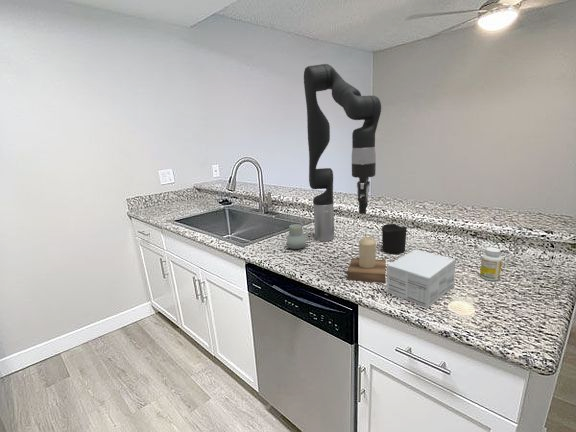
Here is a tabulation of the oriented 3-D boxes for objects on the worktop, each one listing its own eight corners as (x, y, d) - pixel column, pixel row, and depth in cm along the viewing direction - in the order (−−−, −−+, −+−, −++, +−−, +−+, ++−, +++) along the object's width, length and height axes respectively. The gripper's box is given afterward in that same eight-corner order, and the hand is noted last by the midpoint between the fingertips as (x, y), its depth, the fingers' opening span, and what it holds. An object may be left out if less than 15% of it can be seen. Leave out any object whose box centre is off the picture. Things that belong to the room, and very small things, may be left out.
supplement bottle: (487, 281, 95) (491, 253, 93) (476, 274, 100) (478, 247, 98) (504, 280, 96) (507, 251, 93) (491, 272, 101) (494, 245, 98)
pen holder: (402, 246, 129) (403, 223, 127) (408, 254, 120) (409, 230, 118) (379, 246, 130) (380, 224, 128) (384, 254, 121) (384, 231, 119)
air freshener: (306, 251, 131) (305, 228, 128) (287, 252, 131) (286, 229, 128) (305, 242, 141) (304, 221, 139) (287, 243, 142) (286, 222, 139)
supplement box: (413, 274, 104) (414, 248, 101) (454, 287, 94) (456, 258, 91) (385, 292, 93) (386, 264, 91) (427, 308, 83) (429, 277, 81)
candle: (364, 269, 102) (364, 241, 100) (356, 263, 107) (356, 236, 105) (378, 267, 104) (378, 239, 101) (370, 261, 109) (370, 234, 106)
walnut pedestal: (351, 265, 113) (351, 257, 113) (385, 267, 110) (385, 259, 109) (347, 279, 102) (347, 271, 102) (385, 282, 99) (385, 274, 98)
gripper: (353, 159, 106) (354, 205, 110) (349, 164, 93) (349, 215, 97) (376, 159, 103) (375, 205, 108) (374, 163, 90) (374, 216, 95)
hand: (363, 210), depth 102 cm, fingers open, 8 cm apart
